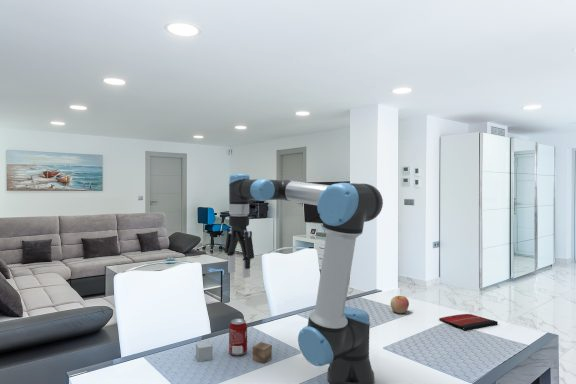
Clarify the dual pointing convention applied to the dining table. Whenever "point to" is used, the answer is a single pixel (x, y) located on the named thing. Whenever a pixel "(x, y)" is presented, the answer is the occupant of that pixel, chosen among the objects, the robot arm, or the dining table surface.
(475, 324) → the binder
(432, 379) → the dining table surface
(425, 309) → the dining table surface
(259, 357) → the walnut cube
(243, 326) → the soda can
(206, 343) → the grey cube
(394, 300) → the apple
